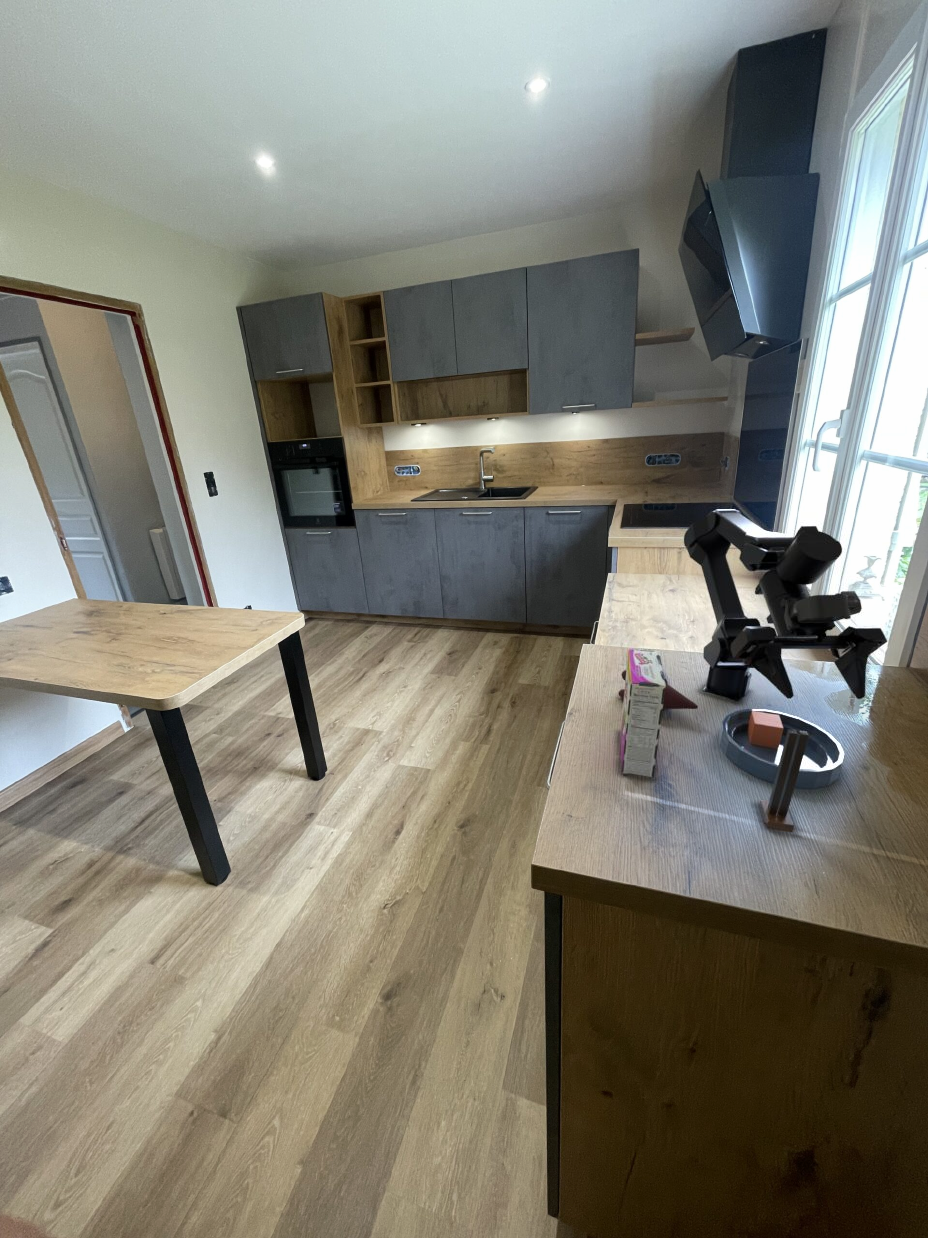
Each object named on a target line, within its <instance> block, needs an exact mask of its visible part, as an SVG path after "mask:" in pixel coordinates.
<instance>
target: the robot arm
mask: <svg viewBox="0 0 928 1238" xmlns="http://www.w3.org/2000/svg"><path fill="white" fill-rule="evenodd" d="M683 545H684V547H685V548H686V550H687V553H688V555H689V556H688V557H689V558H690V559H691V560H693V561H694V562H695V563H697V564H698V565H699V566H700V567H701V570H702V575H703V578H704V581H705V584H706V588H707V592H708V596H709V599H710V602H711V607H712V610H713V614H714V618H715V621H716V626H715V629H714V631H713V633H712V635H711V641H710V642H708V643H707V644H706V645H704V647H703V655H702V657H703V659H704V660H705V662H706V664H708V665H709V669H708V674H707V680H706V685H705V686H704V687H703V688H702V691H703V692H706V693H709V694H712V695H716V696H719V697H722V698H726V699H729V700H732V701H735V702H739V701H740V700H741V699H742V698H745V696H746V695H747V694H748V692H749V689H750V685H751V679H752V676H753V675H752V672H750V669H755V670H756V671H757V672H758V673H759V674H761V675H762V676H763V677H765V678H766V680H767V681H768V682H770V683H771V684H772V685H773V687H775V688H776V689H777V690H778V691H779V692H780V693H781V694H782V695H783V696H784V697H785V698H786V699H792V698H794V696H795V695H794V690H793V685H792V682H791V681H790V677H789V675H788V671H787V670H786V667H785V664H784V662H783V659H782V650H830V652H831V655H832V656H833V657H835V658H836V660H835V661H833V663H834V665H835V667H836V668H837V670H838V671H839V673H840V675H841V676H842V678H843V680H844V681H845V683H846V684H847V687H848V688H849V690H850V691H851V692H852V694H853V695H854V697H855V698H856V699H857V700H862V699H863V698H865V697H866V680H867V679H866V678H867V676H866V675H867V664H868V659H869V657H870V656H871V654H873V653H874V652H876V651H877V650H879V648H881V647H882V646H883V645H885V644H886V643H888V639H887V637H886V635H885V633H884V631H883V629H882V628H881V627H879V626H875V625H849V626H848V627H846V628H845V629H844V630H842V631H841V632H840V633H839V634H838V635H836V634H835V635H827V632H828V631H832V630H833V629H834V628H835V627H837V625H836V623H835V622H838V621H842V620H850V619H851V618H852V616H853V615H856V614H860V613H861V611H862V609H863V608H862V601H861V598H860V597H859V595H858V594H857V592H856V591H855V590H842V591H840V592H839V593H835V594H816V595H811V593H810V591H809V588H808V587H807V585H812V584H815V583H816V582H817V581H818V580H819V579H820V578H821V577H822V576H823V575H824V574H825V573H826V572H827V571H828V570H829V569H830V568H831V566H832V565H833V564H834V563H835V562H836V561H837V560H838V559H839V558H840V557H841V555H842V553H843V547H842V544H841V542H840V541H839V540H837V539H836V538H835V537H833V536H832V535H831V534H828V533H826V532H823V531H819V529H818V526H817V525H801V526H800V527H799V528H798V530H797V531H796V533H795V536H793V535H790V534H785V533H782V532H775V531H768V530H765V529H763V528H761V527H760V526H759V525H758V524H756V523H754V522H753V521H751V520H750V519H748V518H747V517H745V516H744V515H742V513H741V511H740V510H737V509H735V508H734V509H731V508H729V509H715V510H711V511H710V512H709V513H708V515H706V516H705V517H703V518H700V519H699V520H696V521H694V522H693V523H691V525H690V526H689V528H687V529H686V531H685V532H684V536H683ZM732 545H733V546H734V547H735V548H736V549H737V550H739V551H740V552H739V558H738V559H739V561H740V562H741V563H742V564H743V566H744V567H745V569H746V570H747V571H749V572H765V573H763V575H762V577H761V578H759V581H758V584H757V585H756V587H755V589H754V594H755V595H758V596H759V595H760V596H761V595H763V598H764V600H765V601H764V602H765V603H766V607H767V610H768V611H769V614H768V615H767V617H765V619H766V621H767V622H766V623H767V624H768V625H767V626H762V625H761V622H760V620H759V619H758V618H757V617H748V616H746V615H745V612H744V608H743V606H742V603H741V599H740V596H739V593H738V590H737V587H736V584H735V581H734V577H733V574H732V572H731V567H730V564H729V562H728V559H727V554H728V552H729V550H730V547H731V546H732ZM770 624H771V625H772V624H773V626H774V627H772V626H769V625H770Z"/></svg>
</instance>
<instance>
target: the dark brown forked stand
mask: <svg viewBox="0 0 928 1238" xmlns="http://www.w3.org/2000/svg"><path fill="white" fill-rule="evenodd" d="M808 738H809V734H808V733H807V731H799V732H798V733H797V731H796V730H791V729H788V731H787V735H786V739H785V743H784V746H783V750H782V754H781V758H780V762H779V766H778V769H777V773H776V777H775V781H774V783H773V785H772V789H771V792H770V797H769V800H764V799H760V800H759V807H760V810H761V813H762V816H763V818H764V820H765V822H764V825H765V827H766V829H771V830H775V831H781V832H788V833H793V831H794V829H795V824H794V821H793V820H792V817H791V815H790V813H789V809H790V805H791V801H792V798H793V795H794V791H795V789H796V788H795V784H796V781H797V777H798V773H799V770H800V766H801V763H802V759H803V756H804V752H805V749H806V745H807V742H808Z"/></svg>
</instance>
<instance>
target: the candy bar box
mask: <svg viewBox="0 0 928 1238" xmlns="http://www.w3.org/2000/svg"><path fill="white" fill-rule="evenodd" d="M660 653H661V652H660V651H657V650H656V651H655V650H646V649H645V650H643V649H636V648H635V649H634V648H632V649H630V648H629V649H628V650H627V662H626V669H625V670H626V681H625V680H624V682H625V683H624V689H625V692H624V699H623V704H622V713H621V714H622V715H621V726H620V753H621V754H620V756H621V757H620V758H621V759H620V760H621V761H620V762H621V774H623V775H629V774H632V775H639V776H643V777H644V776H645V777H650V778H654V776H655V771H656V763H657V755H658V747H659V740H660V732H661V725H662V717H663V710H664V709H663V701H664V695H665V688H666V684H665V679H664V678H665V673H664V668H663V664H662V659H661V654H660Z"/></svg>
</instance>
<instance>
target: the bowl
mask: <svg viewBox="0 0 928 1238" xmlns="http://www.w3.org/2000/svg"><path fill="white" fill-rule="evenodd" d="M751 711H756V712H763V713H769V714H775V715H779V717H780V719H781V722H782V725H783V728H784V729H783V733H782V736H781V740H780V744H779V748H778V749H775V748H770V747H764V746H759V745H753V744H750V741H749V736H748V732H747V729H748V725H749V720H750V716H751ZM788 729H791V730H796V731H797V733H798V732H799V731H807V733H808V734H809V738H808V742H807V745H806V749H805V752H804V756H803V759H802V763H801V766H800V770H799V773H798V777H797V781H796V784H795V788H794V789H808V790H809V789H811V790H812V789H819V788H823V787H828V786H829V785H831V784H833V783H834V782H836V781H837V780H838V778H839V775H840V772H841V769H842V766H843V763H844V759H845V756H846V755H845V754H846V753H845V752H844V749H843V746H842V745H841V743H840V742H839V741H838V740H837V739H836V738H835V737H834V736H833V735H832V734H831V733H829V732H828V731H826V730H825V729H824V728H821V727H820V726H819V725H816V724H815V723H812V722H811V721H808V720H806V719H803V718H801V717H799V716H795V715H793V714H790V713H789V714H788V713H786V712H781V711H778V710H777V711H776V710H771V709H760V708H759V709H758V708H747V709H740V710H736V711H733V712H731V713H728V714H727V715H726V716H725V717H724V719H723V720H722V721H721V725H720V730H719V734H718V742H719V748H720V749H721V751H722V753H723V754H724V756H725V757H726V758H727V759H728V760H730V761H731V762H732V763H733V764H734V765H736V767H738V768H740V769H741V770H743V771H744V772H746V773H748V774H750V775H751V776H754V777H756V778H759V779H761V780H764V781H766V782H769V783H771V784H774V781H775V777H776V773H777V769H778V766H779V762H780V758H781V754H782V750H783V746H784V743H785V739H786V735H787V731H788Z"/></svg>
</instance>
